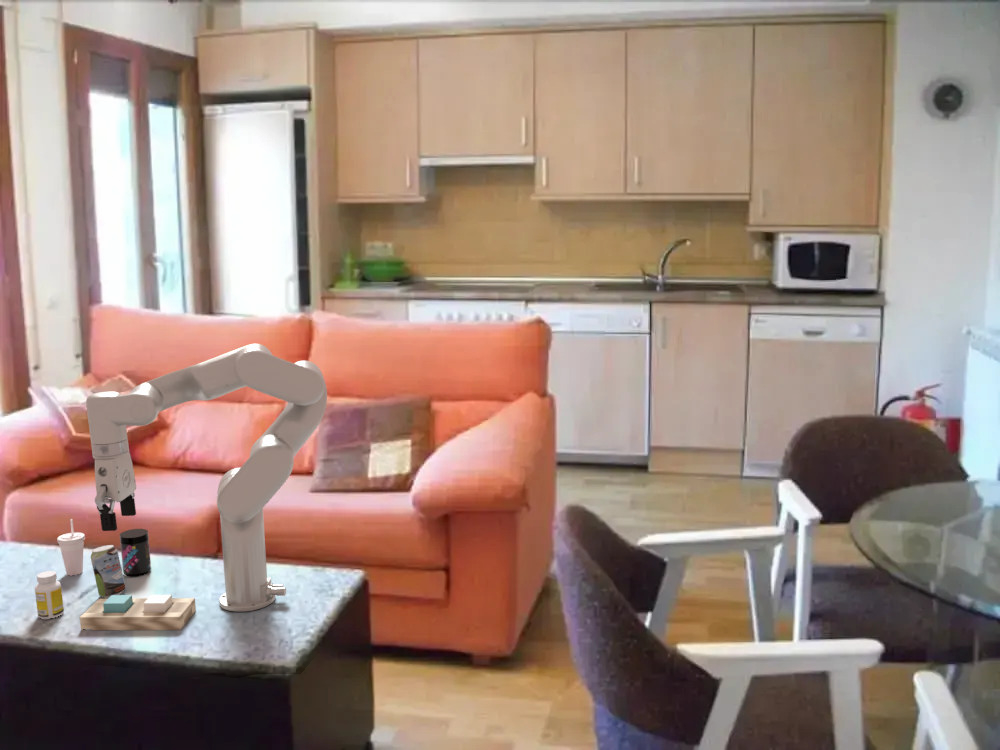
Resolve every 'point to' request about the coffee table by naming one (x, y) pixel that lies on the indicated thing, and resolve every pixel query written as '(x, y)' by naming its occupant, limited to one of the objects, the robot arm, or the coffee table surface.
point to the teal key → (118, 604)
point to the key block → (139, 616)
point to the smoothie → (72, 551)
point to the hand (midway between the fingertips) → (119, 522)
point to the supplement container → (135, 552)
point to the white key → (158, 604)
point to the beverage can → (107, 571)
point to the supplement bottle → (48, 595)
